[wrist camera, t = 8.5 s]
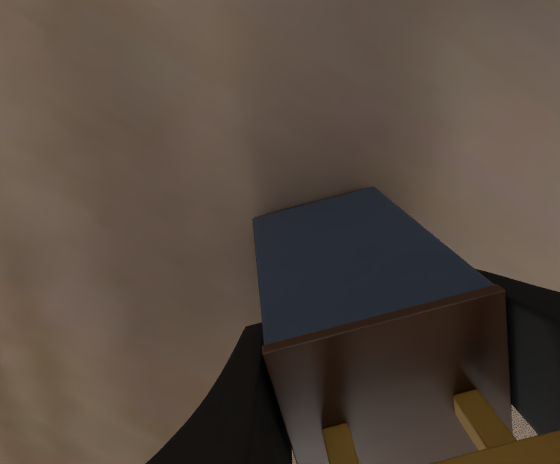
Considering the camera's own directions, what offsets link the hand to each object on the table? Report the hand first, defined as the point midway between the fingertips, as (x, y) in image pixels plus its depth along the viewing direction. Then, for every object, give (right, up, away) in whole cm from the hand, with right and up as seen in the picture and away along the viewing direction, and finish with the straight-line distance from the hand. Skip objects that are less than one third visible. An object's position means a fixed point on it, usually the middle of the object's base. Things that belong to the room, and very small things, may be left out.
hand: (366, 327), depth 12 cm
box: (+1, -3, +1) cm, 4 cm away
